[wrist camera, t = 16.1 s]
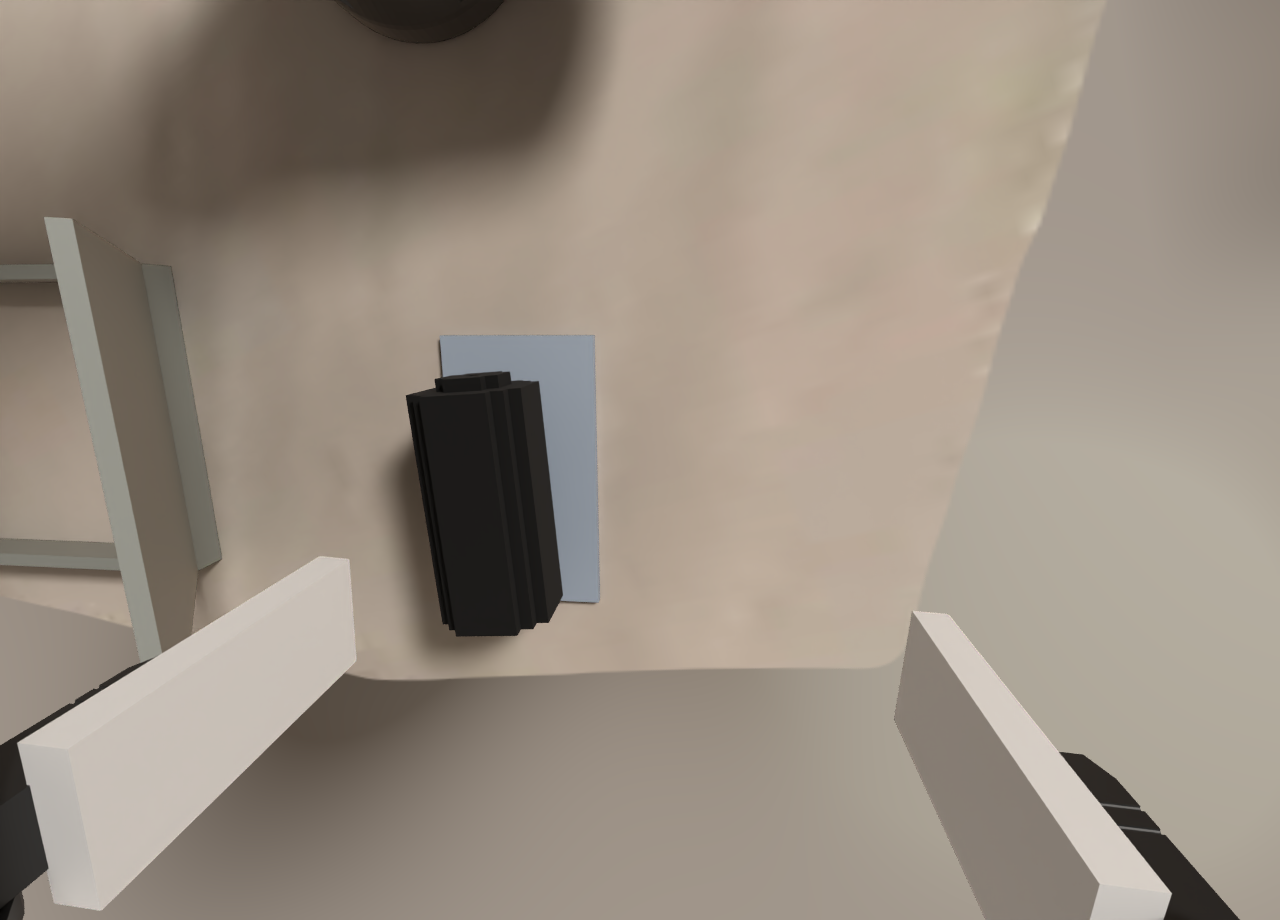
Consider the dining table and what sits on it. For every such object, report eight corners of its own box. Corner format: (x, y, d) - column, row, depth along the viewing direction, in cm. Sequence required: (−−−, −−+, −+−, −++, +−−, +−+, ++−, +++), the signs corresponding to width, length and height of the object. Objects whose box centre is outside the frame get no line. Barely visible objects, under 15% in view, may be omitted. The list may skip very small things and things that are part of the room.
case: (-99, 270, 47) (-706, 235, 27) (364, 263, 43) (58, 216, 23) (-23, 548, 52) (-482, 693, 32) (396, 566, 48) (170, 746, 28)
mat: (443, 335, 43) (439, 335, 43) (594, 335, 42) (592, 335, 42) (463, 592, 48) (460, 595, 47) (599, 598, 47) (598, 602, 46)
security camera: (494, 606, 47) (439, 681, 38) (461, 369, 43) (390, 385, 34) (581, 605, 46) (547, 681, 37) (555, 363, 42) (510, 376, 33)
